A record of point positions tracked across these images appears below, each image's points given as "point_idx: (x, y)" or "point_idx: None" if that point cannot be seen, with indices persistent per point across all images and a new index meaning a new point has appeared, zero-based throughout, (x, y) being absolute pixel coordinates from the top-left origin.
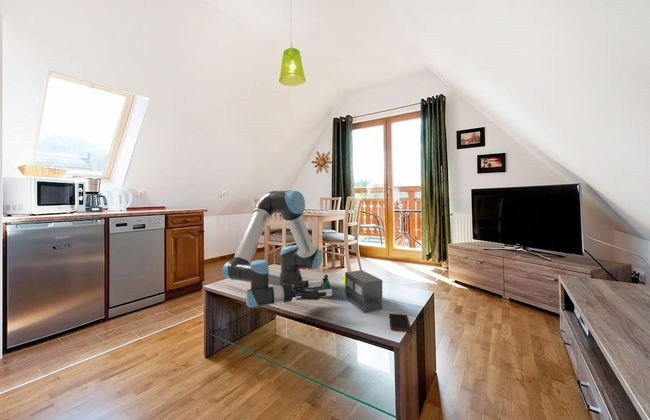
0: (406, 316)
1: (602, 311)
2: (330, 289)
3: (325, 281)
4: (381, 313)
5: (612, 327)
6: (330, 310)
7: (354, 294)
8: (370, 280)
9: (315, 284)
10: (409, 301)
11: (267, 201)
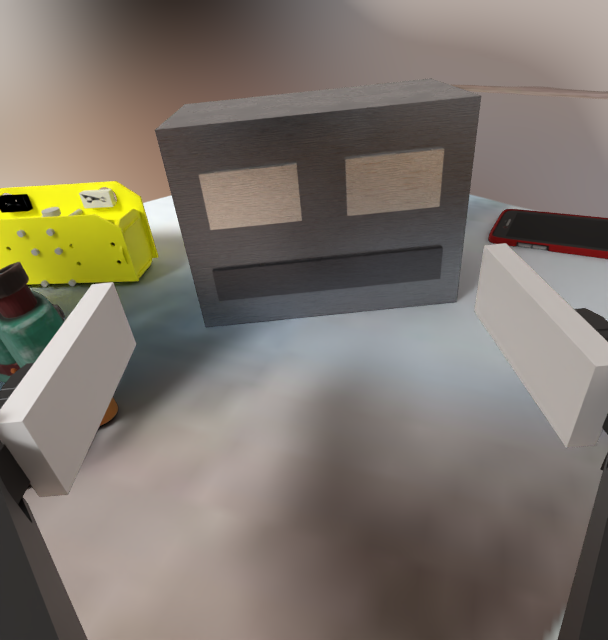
0: (521, 211)
1: (485, 87)
2: (502, 251)
3: (32, 297)
4: (470, 256)
5: (552, 91)
6: (375, 453)
7: (332, 246)
8: (427, 89)
9: (97, 370)
10: None
11: None
